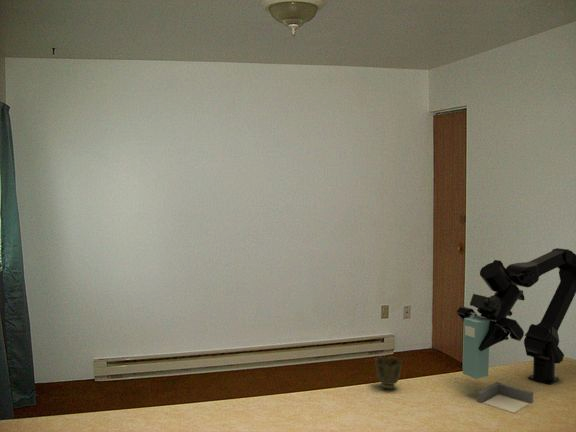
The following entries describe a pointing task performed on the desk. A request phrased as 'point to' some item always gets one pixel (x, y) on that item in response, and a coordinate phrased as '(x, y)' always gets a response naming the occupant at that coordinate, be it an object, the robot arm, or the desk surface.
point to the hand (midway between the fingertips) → (472, 347)
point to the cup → (388, 371)
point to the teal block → (475, 347)
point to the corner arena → (503, 401)
